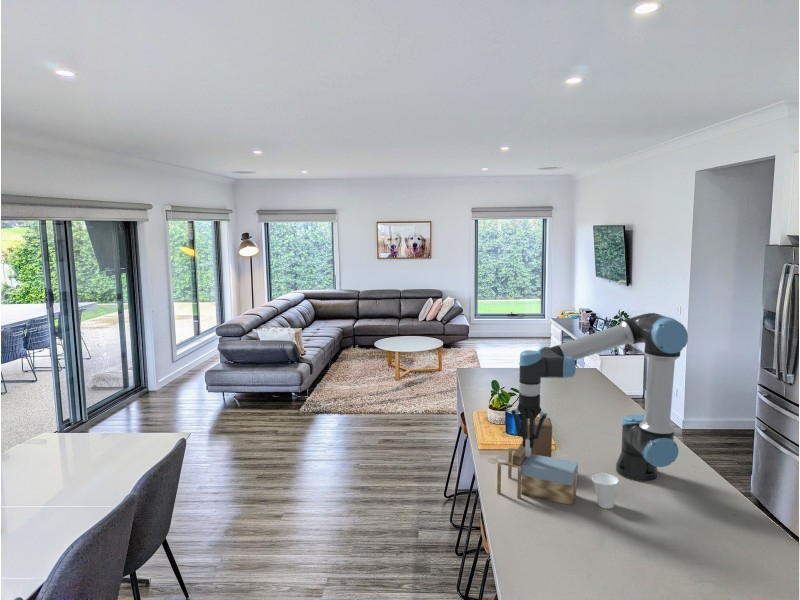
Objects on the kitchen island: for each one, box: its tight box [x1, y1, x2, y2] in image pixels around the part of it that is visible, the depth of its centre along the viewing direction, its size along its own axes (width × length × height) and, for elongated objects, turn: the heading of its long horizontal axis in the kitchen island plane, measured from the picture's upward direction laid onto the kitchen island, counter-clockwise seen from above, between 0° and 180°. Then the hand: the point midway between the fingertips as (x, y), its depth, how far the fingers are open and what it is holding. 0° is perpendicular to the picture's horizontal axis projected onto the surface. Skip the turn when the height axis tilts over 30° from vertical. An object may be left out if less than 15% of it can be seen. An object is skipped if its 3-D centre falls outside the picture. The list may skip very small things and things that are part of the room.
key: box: [512, 441, 527, 466], centre depth 200 cm, size 3×15×4 cm, turn 152°
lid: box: [521, 454, 579, 485], centre depth 196 cm, size 18×11×4 cm, turn 62°
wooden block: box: [527, 416, 553, 457], centre depth 218 cm, size 10×10×20 cm
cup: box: [591, 472, 620, 510], centre depth 189 cm, size 9×9×10 cm
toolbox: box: [496, 446, 578, 506], centre depth 198 cm, size 26×15×12 cm, turn 62°
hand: (528, 455), depth 199 cm, fingers closed
